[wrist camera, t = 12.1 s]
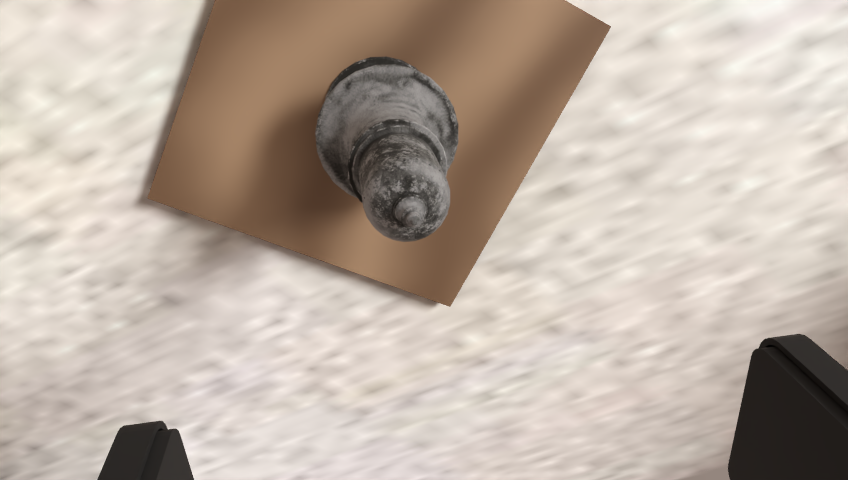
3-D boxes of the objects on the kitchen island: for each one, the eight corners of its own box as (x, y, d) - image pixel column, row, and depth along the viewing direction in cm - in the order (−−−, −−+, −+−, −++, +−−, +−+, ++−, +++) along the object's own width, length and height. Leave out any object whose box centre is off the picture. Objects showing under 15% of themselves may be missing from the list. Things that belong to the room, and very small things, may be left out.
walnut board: (602, 23, 29) (611, 26, 28) (446, 297, 35) (450, 306, 34) (274, -163, 24) (272, -166, 23) (152, 190, 30) (147, 198, 29)
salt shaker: (435, 38, 28) (504, 105, 17) (452, 163, 30) (521, 289, 20) (302, 62, 27) (288, 145, 17) (331, 186, 30) (335, 327, 19)
